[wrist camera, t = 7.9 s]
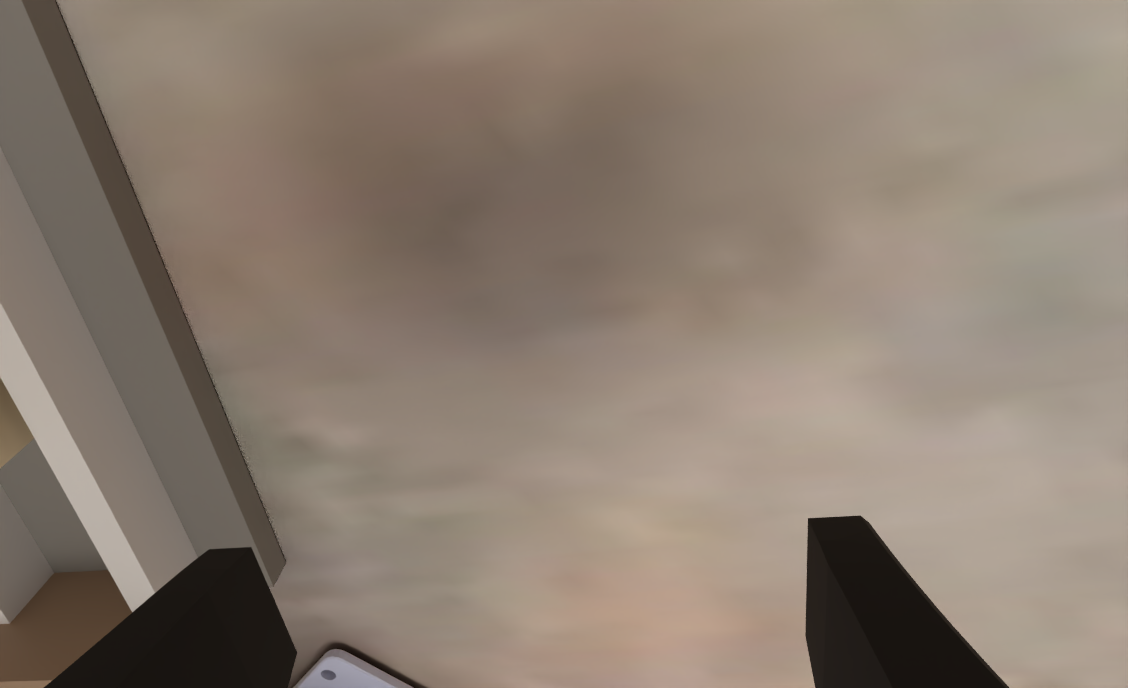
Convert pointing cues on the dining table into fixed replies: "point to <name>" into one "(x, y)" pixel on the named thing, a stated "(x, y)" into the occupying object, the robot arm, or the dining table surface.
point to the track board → (94, 379)
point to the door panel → (11, 427)
